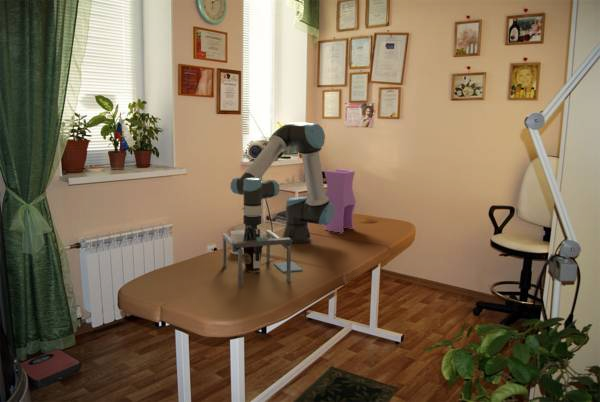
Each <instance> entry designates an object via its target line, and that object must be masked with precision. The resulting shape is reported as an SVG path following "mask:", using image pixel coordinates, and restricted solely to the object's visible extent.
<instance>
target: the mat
mask: <svg viewBox="0 0 600 402" xmlns="http://www.w3.org/2000/svg"><path fill="white" fill-rule="evenodd" d="M273 265H274V266H275V267H276V268H277V269H278V270H279V271H281V272H282V273H287V261H283V262H275V263H273ZM294 271H295V272H303V268H302V267H300V266H299V265H297V263H296V262H294V261H291V273H292V272H293V273H294Z"/></svg>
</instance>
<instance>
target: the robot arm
mask: <svg viewBox="0 0 600 402" xmlns="http://www.w3.org/2000/svg"><path fill="white" fill-rule="evenodd" d="M325 139H326V134H325V131H324V128H323V127H322V126H321V125H320V124H318V123H313V122H289V123H285V124H284V125H282V126H280V127H279V128H278V129H277V130H275V131H274V132H273V133H272V135H270V137H269V139H268V143H267V144H266V145H265V146H264V148H263V149H262V150H261V151H260V152H259V153H258V155H257V156H256V157H255V159H254V160H253V161H252V163H251V164H250V165H249V166H248V168H247V169H246V170H245V171H244V172H243V174H242V175H241V177H234V178H233V179H232V180H231V181H230V190H231V192H232V193H234V194H237V195H239V196H240V195H241V196H243V207H242V209H241V210H243V216H242V217H243V218H242V219H243V225H244V230H245V232H244V239H243V241H245V240H257V237H261V229H260V228H258V226H259V225H261V224H262V200H264V199H270V198H274V197H276V196H277V195H279V193H280V185H279V183H278V181H276V180H274V179H268V180H264V179H263V180H262V178H263V176H264V175H265V173H267V171H268V169H270V168H271V166H272V164H274V162H275V161H276V160H277V158H278V156H279V155H280V154H281V153H282V152H285V151H286V150H287V149H288V148H290V147H296V148H297V152H298V154H300V156H301V158H302V159H301V160H302V164H303V171H304V178H305V185H306V192H307V195H308V196H296V197H295V196H294V197H290V198H287V200H286V204H285V227H284V229H283V234H282V238H288V237H289V238H290V239H291V241H292V244H303V243H308V242H310V241H311V237H312V236H311V232H310V228H309V227H308V224H315V225H319V226H325V225H328V224H329V223H330V222H331V221H332V219H333V216H334V211H335V208H334V205H333V204H332V203H329V199H328V197H327V196H326V192H325V191H326V190H325V185H324V180H323V172H322V164H321V157H320V152H321V150H322V147H324V145H325V141H326V140H325ZM253 248H254V252H253V268H260V269H261V260H260V253H261V254H262V253H263V247H261V246H255V247H253Z"/></svg>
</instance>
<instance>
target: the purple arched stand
mask: <svg viewBox="0 0 600 402" xmlns="http://www.w3.org/2000/svg"><path fill="white" fill-rule="evenodd" d="M355 173H356V171H355V170H350V169H342V168H341V169H340V168H339V169H338V168H336V169H335V171H331V170H324V176H325V179H326V190H325V191H326V192H325V195H326V196H327V197H328V199H329V203H332V204H333V205H334V208H335V211H334V216H333V219H332V221H331V222H330V223H329V224H328V225H324V226H323V227H324V228H323V230H324V229H325V230H330V231H336V232H342V233H343V232H345V231H344V228H343V227H345V228H352V229H353V228H354V229H355V227H354V226H355V225H354V220H353V217H354V216H353V215H354V211H355V207H356V198H355V195H354V191H353V183H354V182H353V181H354V177H355ZM325 230H324V231H325ZM330 231H329V232H330ZM343 234H344V233H343Z"/></svg>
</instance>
